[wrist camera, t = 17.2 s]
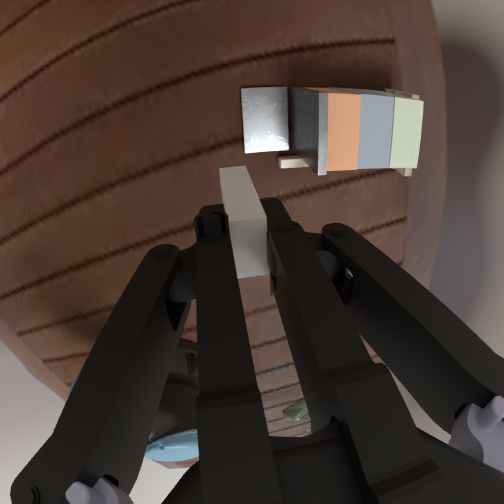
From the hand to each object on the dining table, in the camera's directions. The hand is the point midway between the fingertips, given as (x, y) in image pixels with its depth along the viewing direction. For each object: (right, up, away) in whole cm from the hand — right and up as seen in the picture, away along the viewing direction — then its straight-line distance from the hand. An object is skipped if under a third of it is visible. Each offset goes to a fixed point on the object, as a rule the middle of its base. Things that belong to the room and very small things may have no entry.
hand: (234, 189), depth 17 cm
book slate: (+14, +16, +22) cm, 30 cm away
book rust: (+9, +15, +21) cm, 28 cm away
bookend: (+4, +14, +21) cm, 25 cm away
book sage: (+18, +16, +22) cm, 33 cm away
